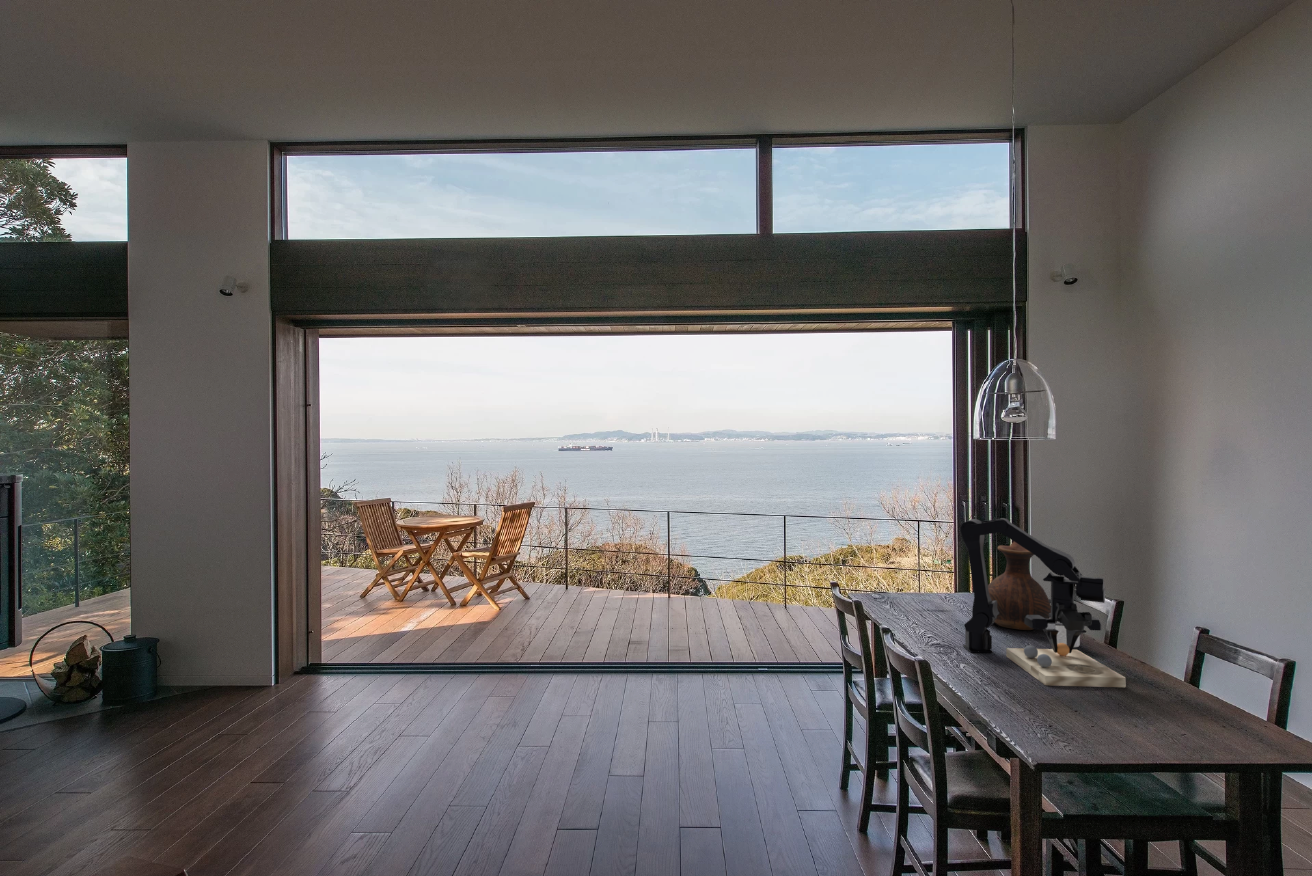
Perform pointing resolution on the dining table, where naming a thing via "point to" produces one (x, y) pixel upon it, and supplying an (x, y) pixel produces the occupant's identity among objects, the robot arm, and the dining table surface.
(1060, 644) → the ball
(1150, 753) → the dining table surface
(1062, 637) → the white cup
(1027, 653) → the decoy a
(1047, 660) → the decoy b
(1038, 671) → the board
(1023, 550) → the jug
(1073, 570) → the robot arm
